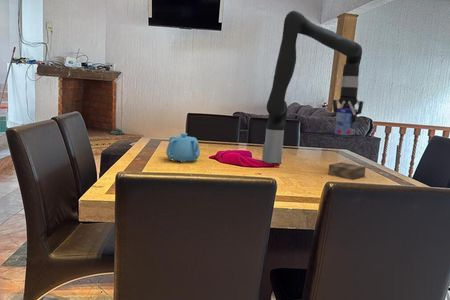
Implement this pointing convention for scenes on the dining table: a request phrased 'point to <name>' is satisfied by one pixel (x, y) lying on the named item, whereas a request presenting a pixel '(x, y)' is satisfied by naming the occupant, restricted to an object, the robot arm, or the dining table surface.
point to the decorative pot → (183, 148)
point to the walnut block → (346, 171)
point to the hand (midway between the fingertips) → (346, 122)
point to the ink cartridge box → (344, 122)
